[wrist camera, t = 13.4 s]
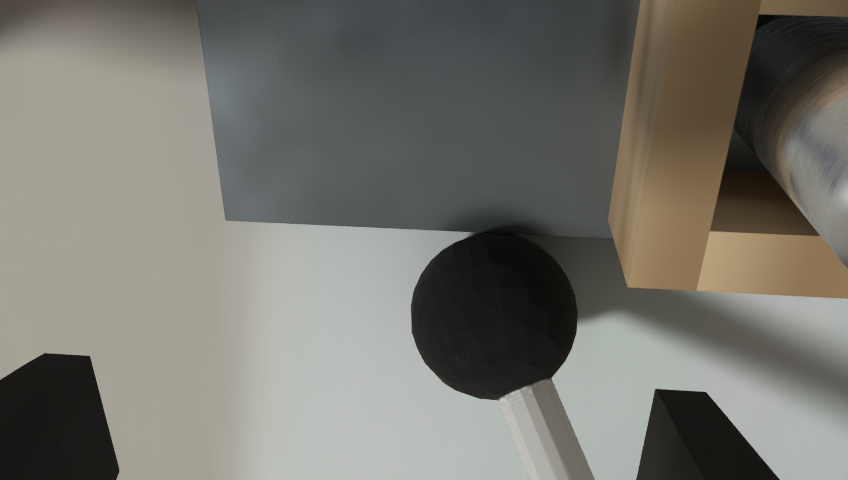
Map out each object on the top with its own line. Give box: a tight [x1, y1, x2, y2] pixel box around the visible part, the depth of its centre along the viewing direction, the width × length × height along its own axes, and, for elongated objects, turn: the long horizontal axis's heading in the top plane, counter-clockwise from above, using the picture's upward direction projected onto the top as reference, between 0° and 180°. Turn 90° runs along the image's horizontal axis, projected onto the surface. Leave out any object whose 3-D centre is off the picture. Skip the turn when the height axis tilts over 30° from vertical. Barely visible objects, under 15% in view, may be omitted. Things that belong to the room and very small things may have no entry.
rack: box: [608, 0, 848, 299], centre depth 15 cm, size 7×7×3 cm
